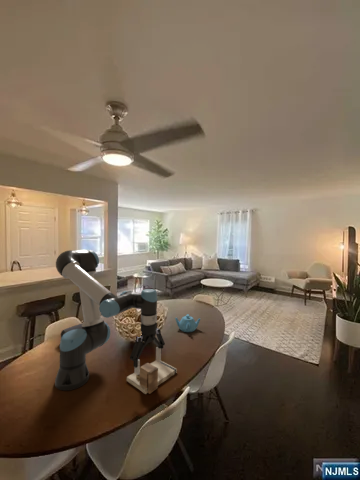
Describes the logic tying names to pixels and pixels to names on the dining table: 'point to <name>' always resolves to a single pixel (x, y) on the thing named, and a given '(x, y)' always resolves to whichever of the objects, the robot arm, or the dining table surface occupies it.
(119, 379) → the dining table surface
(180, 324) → the teapot
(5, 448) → the dining table surface
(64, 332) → the bluetooth speaker
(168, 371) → the board
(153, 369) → the brown rectangular block
